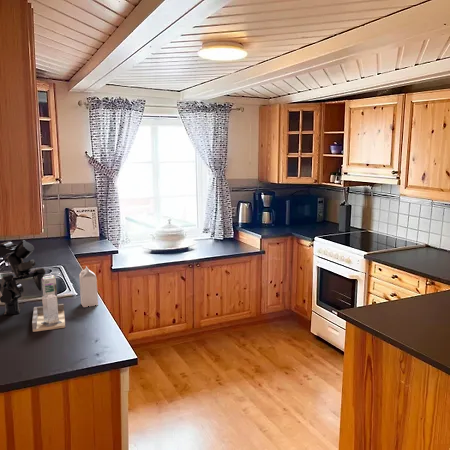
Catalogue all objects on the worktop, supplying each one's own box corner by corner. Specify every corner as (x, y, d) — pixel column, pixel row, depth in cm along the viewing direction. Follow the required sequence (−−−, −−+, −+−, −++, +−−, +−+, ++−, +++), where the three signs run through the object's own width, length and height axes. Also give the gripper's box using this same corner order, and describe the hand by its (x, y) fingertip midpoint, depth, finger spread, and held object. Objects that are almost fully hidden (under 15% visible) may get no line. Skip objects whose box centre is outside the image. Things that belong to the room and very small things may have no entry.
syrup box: (45, 308, 221) (43, 279, 219) (43, 304, 226) (41, 276, 224) (58, 305, 224) (55, 277, 221) (55, 302, 229) (53, 274, 226)
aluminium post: (44, 322, 200) (41, 296, 198) (53, 319, 203) (51, 293, 201) (49, 325, 197) (47, 298, 195) (58, 322, 200) (56, 296, 198)
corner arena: (34, 315, 212) (33, 307, 211) (64, 311, 216) (63, 303, 215) (32, 331, 193) (32, 322, 192) (65, 327, 198) (64, 318, 197)
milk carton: (95, 301, 230) (93, 264, 227) (98, 305, 224) (96, 268, 221) (80, 303, 227) (78, 266, 224) (83, 307, 221) (80, 270, 218)
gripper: (1, 258, 198) (14, 288, 192) (42, 251, 211) (55, 278, 206) (-5, 272, 204) (8, 301, 199) (35, 264, 218) (48, 291, 213)
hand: (30, 292), depth 204 cm, fingers open, 9 cm apart
